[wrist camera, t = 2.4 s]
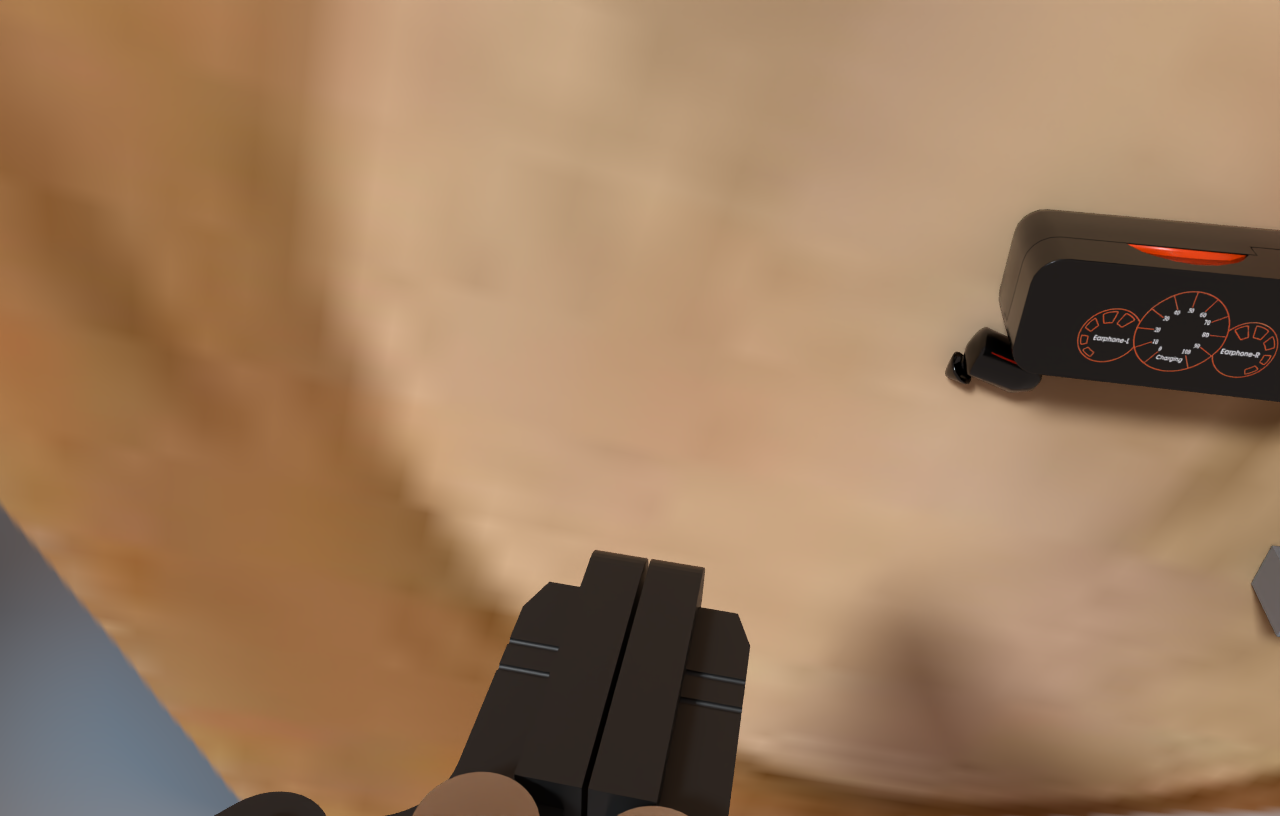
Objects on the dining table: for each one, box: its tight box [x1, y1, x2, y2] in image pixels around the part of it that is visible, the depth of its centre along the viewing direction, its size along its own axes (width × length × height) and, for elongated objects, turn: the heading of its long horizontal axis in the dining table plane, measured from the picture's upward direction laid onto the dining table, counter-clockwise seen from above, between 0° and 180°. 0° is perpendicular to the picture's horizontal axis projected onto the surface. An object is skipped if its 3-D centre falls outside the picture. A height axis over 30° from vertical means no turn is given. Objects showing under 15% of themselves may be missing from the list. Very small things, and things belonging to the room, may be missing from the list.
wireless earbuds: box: [945, 209, 1280, 402], centre depth 22 cm, size 5×7×3 cm, turn 88°
